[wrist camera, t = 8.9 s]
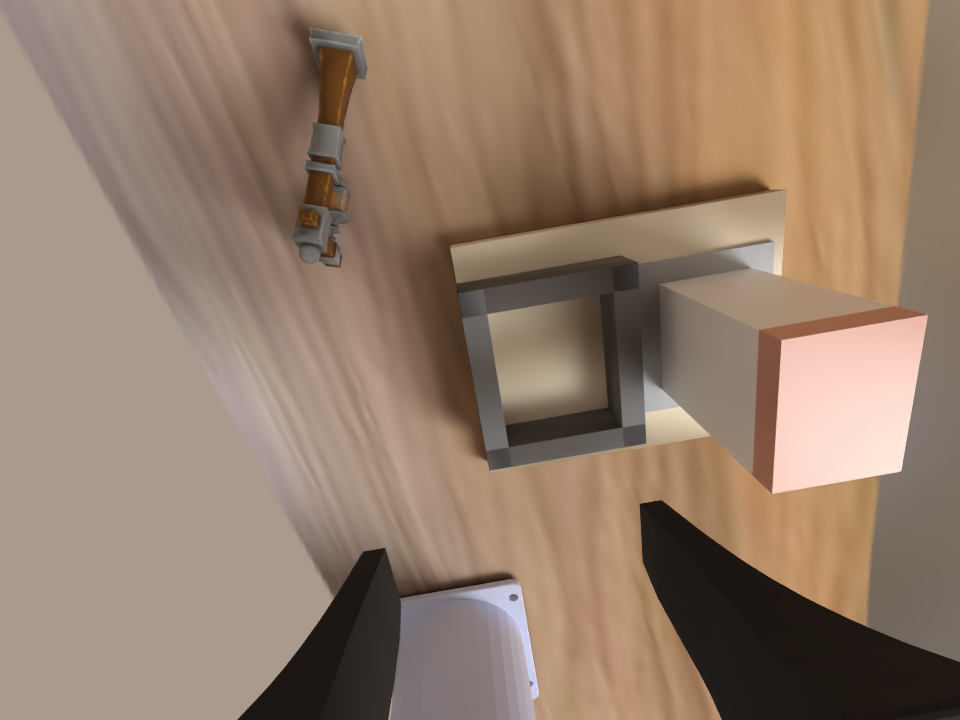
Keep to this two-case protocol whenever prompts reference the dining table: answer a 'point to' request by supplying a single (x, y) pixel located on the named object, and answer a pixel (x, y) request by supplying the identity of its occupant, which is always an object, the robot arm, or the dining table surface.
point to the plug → (792, 374)
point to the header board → (594, 323)
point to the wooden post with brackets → (328, 147)
